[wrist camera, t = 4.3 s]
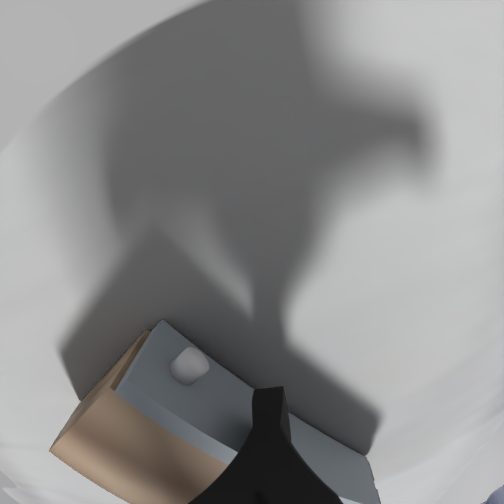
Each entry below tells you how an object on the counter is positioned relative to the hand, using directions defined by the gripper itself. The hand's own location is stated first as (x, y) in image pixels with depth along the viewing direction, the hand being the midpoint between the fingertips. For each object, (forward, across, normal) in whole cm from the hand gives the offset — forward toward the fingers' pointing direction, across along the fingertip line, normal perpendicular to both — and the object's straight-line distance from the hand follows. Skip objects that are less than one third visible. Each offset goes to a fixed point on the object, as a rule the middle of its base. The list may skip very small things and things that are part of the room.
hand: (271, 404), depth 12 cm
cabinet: (+2, +4, +6) cm, 8 cm away
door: (+2, -1, +3) cm, 4 cm away
